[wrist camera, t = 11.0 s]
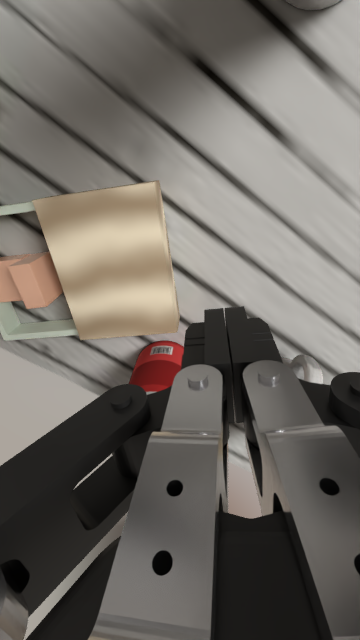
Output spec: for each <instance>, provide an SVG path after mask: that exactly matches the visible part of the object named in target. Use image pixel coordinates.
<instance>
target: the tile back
mask: <svg viewBox="0 0 360 640" xmlns="http://www.w3.org/2000/svg"><path fill="white" fill-rule="evenodd" d="M30 255H31V254H23V255H15V256H7V257H0V302H10V301H20V300H23V299H22V297H21V295H20V293H19V290H18V288H17V286H16V284H15V282H14V279H13V277H12V275H11V273H10V270H9V268H8V266H10V265H12V264H14V263H16V262H18V261H20V260H22V259H24V258H26V257H28V256H30Z"/></svg>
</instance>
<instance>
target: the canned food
mask: <svg viewBox="0 0 360 640" xmlns="http://www.w3.org/2000/svg"><path fill="white" fill-rule="evenodd" d="M183 352H184V347H183V346H181V345H180V344H178V343H175V342H172V341H157V342H154V343H152V344H150V345H148V346H147V347H146V348H145V349H144V350H143V351H142V352H141V353H140V354H139V357H138V359H137V362H136V365H135V367H134V370H133V373H132V376H131V379H130V382H129V384H134V385H138V386H140V387H142V388H143V389H144V390H145V391H146V394H147V395H148V394H151V393H155V392H158V391H161V390H164V389H166V388H168V387H170V386H172V385H173V381H174V378H175V376H176V374H177V373H178V372H179V371H181V370H182V361H183Z"/></svg>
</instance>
